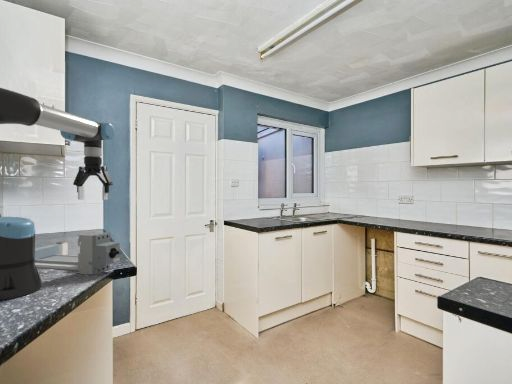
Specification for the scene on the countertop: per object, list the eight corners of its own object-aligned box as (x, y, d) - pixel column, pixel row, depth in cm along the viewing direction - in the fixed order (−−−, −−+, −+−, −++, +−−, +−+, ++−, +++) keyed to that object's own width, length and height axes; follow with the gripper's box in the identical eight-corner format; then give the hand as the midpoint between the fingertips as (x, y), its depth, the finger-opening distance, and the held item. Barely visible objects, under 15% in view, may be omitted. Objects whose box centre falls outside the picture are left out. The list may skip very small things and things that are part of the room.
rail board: (84, 270, 112) (84, 254, 112) (19, 266, 118) (19, 251, 118) (112, 260, 127) (112, 246, 127) (53, 257, 133) (53, 244, 133)
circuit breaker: (110, 275, 105) (109, 236, 105) (78, 273, 108) (77, 234, 108) (123, 270, 113) (123, 233, 112) (92, 268, 115) (92, 232, 115)
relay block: (62, 256, 135) (62, 242, 135) (53, 256, 134) (53, 242, 134) (67, 254, 140) (67, 240, 140) (58, 254, 139) (58, 241, 139)
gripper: (120, 157, 139) (120, 199, 139) (77, 158, 143) (77, 199, 143) (110, 155, 131) (110, 200, 131) (64, 156, 136) (64, 199, 136)
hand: (92, 199), depth 137 cm, fingers open, 13 cm apart
